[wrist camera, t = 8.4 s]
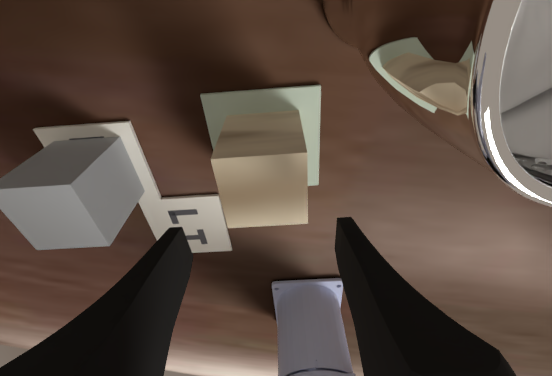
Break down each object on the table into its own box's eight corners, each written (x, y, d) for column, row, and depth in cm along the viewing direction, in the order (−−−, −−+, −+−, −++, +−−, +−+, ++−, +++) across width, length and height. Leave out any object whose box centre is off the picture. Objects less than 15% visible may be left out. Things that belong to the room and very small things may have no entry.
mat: (317, 182, 23) (318, 184, 22) (223, 188, 23) (222, 191, 23) (320, 84, 18) (321, 85, 18) (201, 93, 18) (200, 95, 18)
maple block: (300, 171, 22) (307, 223, 17) (238, 175, 22) (227, 228, 17) (298, 109, 19) (307, 152, 14) (226, 115, 19) (210, 159, 14)
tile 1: (161, 197, 24) (160, 199, 23) (83, 202, 24) (81, 204, 24) (130, 120, 19) (128, 122, 19) (35, 127, 20) (32, 129, 19)
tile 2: (232, 248, 27) (232, 250, 27) (164, 252, 28) (163, 254, 27) (218, 193, 23) (218, 196, 23) (139, 198, 24) (137, 201, 23)
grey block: (144, 191, 23) (109, 245, 18) (86, 194, 23) (36, 249, 18) (120, 136, 20) (70, 184, 15) (53, 141, 20) (-17, 190, 15)
